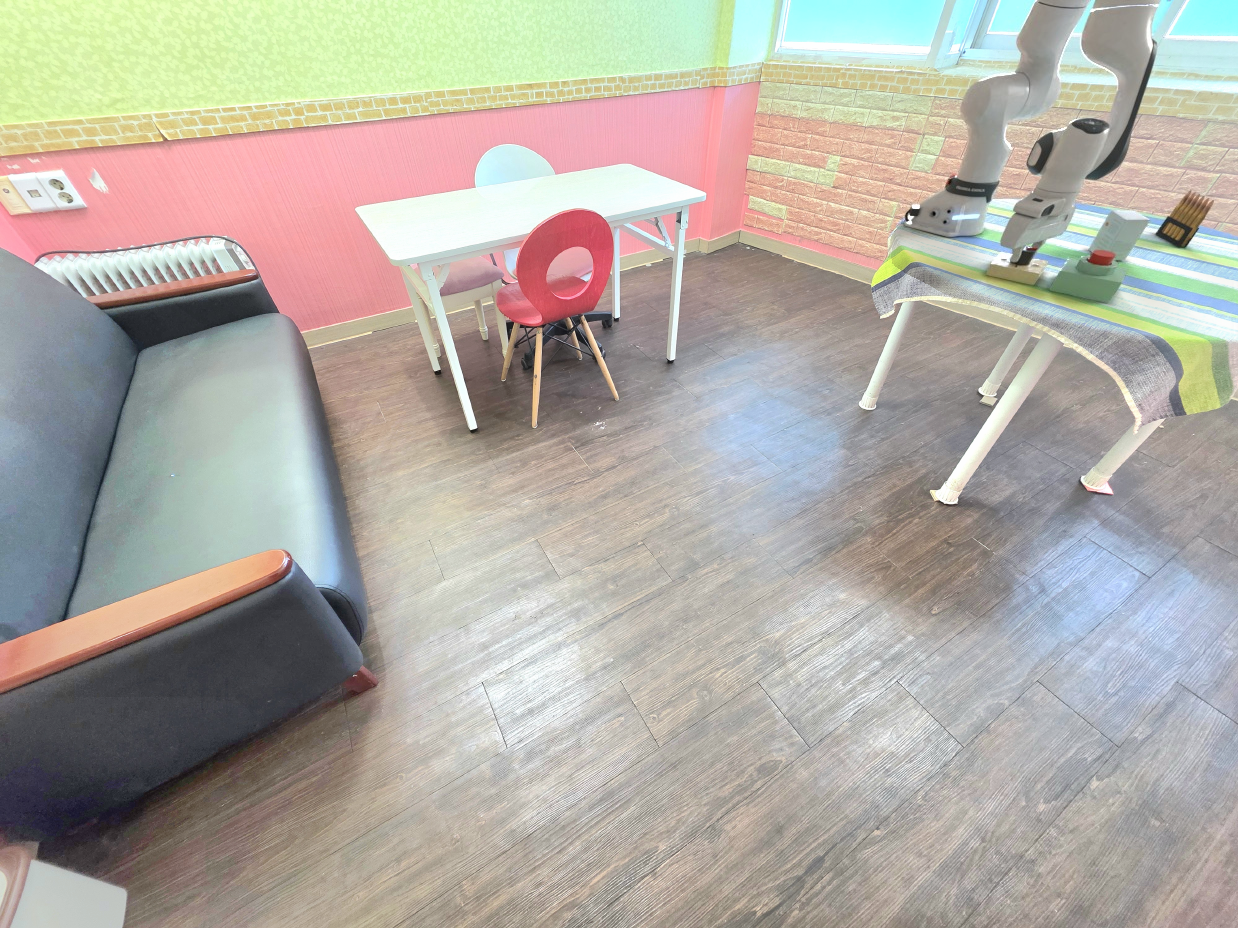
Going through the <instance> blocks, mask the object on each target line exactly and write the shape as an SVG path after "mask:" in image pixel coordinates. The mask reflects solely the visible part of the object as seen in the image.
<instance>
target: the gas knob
mask: <svg viewBox="0 0 1238 928" xmlns="http://www.w3.org/2000/svg"><path fill="white" fill-rule="evenodd" d="M1031 246H1032V245H1031ZM1031 246H1030V245H1026V246H1025V248H1024V249H1022V253H1021V254H1022V255H1023V256H1022V257H1021V259H1020V261H1018V262H1012V261H1010V262H1011V263H1013V264H1016V265H1029V264H1030V262H1031V260H1032V259H1033V258H1034V257H1035V256H1036V255H1035V253H1036V251H1037V248H1034V247H1031ZM1037 252H1038V251H1037ZM1036 254H1037V253H1036ZM1034 255H1035V256H1034Z"/></svg>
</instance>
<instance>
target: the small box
mask: <svg viewBox="0 0 1238 928" xmlns="http://www.w3.org/2000/svg"><path fill="white" fill-rule="evenodd" d="M1150 222H1151V219H1150V218H1148V217H1146V216H1144V215H1143V214H1141V213H1140V212H1138V211H1136V210H1125V209H1124V210H1119V209H1118V210H1115V209H1114V210H1113V209H1112V210H1110V211H1109V213H1108V215H1107V216H1106V218H1105V219H1104V221H1103V223H1102V225H1101V227H1100V229H1099V230H1098V231H1097V233H1096V235H1095V237H1094V239H1093V241H1092V242H1091V244H1090V246H1089V247H1088V251H1089V252H1091V253H1092V252H1093V251H1094V250H1106V251H1110V252H1113V253H1115V254H1116V256H1115V258H1114V259H1113V260H1115V261H1125V260H1126V259H1127V258H1128V256H1129V255H1130V253H1131V251H1132V250H1133V248H1134V247H1135V246H1136V244H1137V242H1138V241H1139V239H1140V237H1141V236H1142V234H1143V233H1144V231H1145V230H1146V228H1147V226H1148V225H1149V223H1150Z"/></svg>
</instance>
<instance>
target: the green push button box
mask: <svg viewBox="0 0 1238 928" xmlns="http://www.w3.org/2000/svg"><path fill="white" fill-rule="evenodd" d="M1089 257H1090V255H1083V256H1080V258H1078V259H1077V258H1073V257H1067V259H1066V261H1065V262H1064V264H1063V265H1062V267H1061V268H1060V270H1059V272H1058V273H1057V275H1056V277H1055V279H1053V280H1054V281H1052V284H1051V286H1050V287H1049V289H1048V291H1051V292H1055V293H1060V294H1064V295H1069V296H1073V297H1079V298H1083V299H1087V300H1092V301H1096V302H1101V303H1106V304H1109V303H1110V301H1111V300H1112V299H1113V298H1114V296H1115V294H1116V293H1117V291H1118V290H1119V288H1120V287H1121V285H1122V284H1123V281H1124V280H1125V278H1126V275H1127V274H1128V273H1127V272H1128V270H1129V269H1128V268H1126V267H1121V266H1119V263H1118V262H1117V260H1113V261H1112V262H1111V264H1110V265H1108V266H1101V265H1096V264H1092V263H1090V262H1088V261H1087V260H1088V259H1089Z"/></svg>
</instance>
